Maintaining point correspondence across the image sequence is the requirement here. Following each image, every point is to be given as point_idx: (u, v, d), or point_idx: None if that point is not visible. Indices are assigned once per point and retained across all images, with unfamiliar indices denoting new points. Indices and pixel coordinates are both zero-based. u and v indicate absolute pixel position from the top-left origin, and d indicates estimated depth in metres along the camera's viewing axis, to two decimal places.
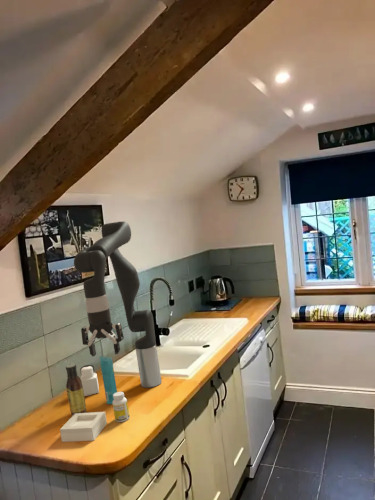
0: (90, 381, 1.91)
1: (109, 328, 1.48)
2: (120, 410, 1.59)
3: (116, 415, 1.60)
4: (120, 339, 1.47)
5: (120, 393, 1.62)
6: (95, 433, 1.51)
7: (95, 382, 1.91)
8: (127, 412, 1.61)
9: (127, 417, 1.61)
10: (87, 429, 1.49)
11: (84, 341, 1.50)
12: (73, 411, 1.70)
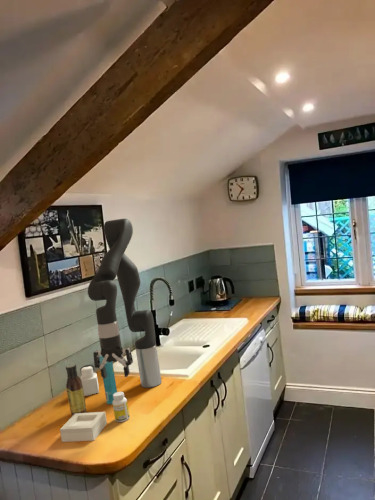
0: (90, 381, 1.91)
1: (119, 352, 1.59)
2: (120, 410, 1.59)
3: (116, 415, 1.60)
4: (129, 363, 1.58)
5: (120, 393, 1.62)
6: (95, 433, 1.51)
7: (95, 382, 1.91)
8: (127, 412, 1.61)
9: (127, 417, 1.61)
10: (87, 429, 1.49)
11: (96, 364, 1.61)
12: (73, 411, 1.70)
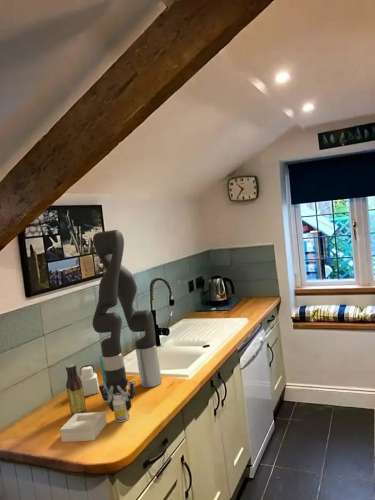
0: (90, 381, 1.91)
1: (124, 384, 1.60)
2: (120, 410, 1.59)
3: (116, 415, 1.60)
4: (132, 397, 1.59)
5: (120, 393, 1.62)
6: (95, 433, 1.51)
7: (95, 382, 1.91)
8: (127, 412, 1.61)
9: (127, 417, 1.61)
10: (87, 429, 1.49)
11: (104, 397, 1.61)
12: (73, 411, 1.70)
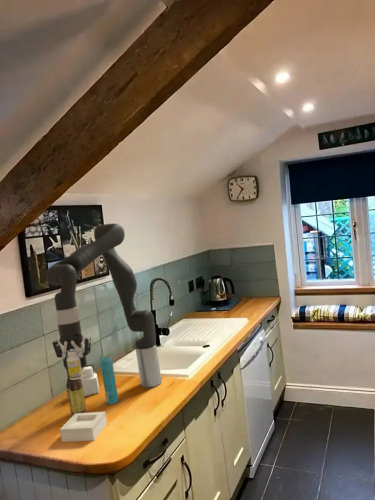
0: (90, 381, 1.91)
1: (79, 340, 1.52)
2: (73, 367, 1.51)
3: (70, 372, 1.52)
4: (86, 353, 1.51)
5: (75, 350, 1.54)
6: (95, 433, 1.51)
7: (95, 382, 1.91)
8: (82, 369, 1.53)
9: (82, 375, 1.53)
10: (87, 429, 1.49)
11: (58, 354, 1.53)
12: (73, 411, 1.70)
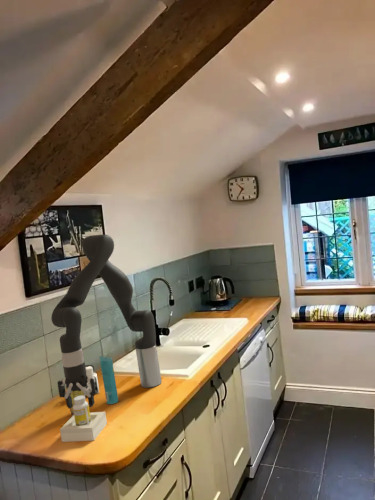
0: None
1: (84, 382, 1.53)
2: (80, 415, 1.53)
3: (76, 420, 1.53)
4: (94, 393, 1.52)
5: (81, 397, 1.55)
6: (95, 433, 1.51)
7: None
8: (88, 417, 1.54)
9: (88, 422, 1.54)
10: (87, 429, 1.49)
11: (61, 394, 1.55)
12: (73, 411, 1.70)
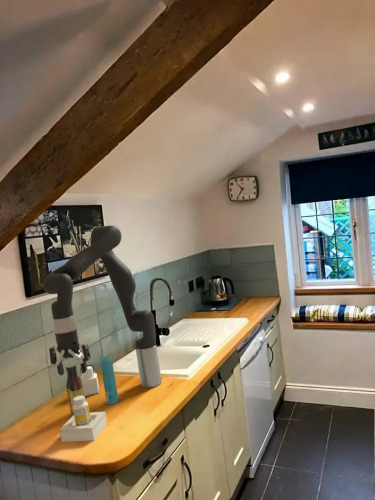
0: (90, 381, 1.91)
1: (76, 348, 1.53)
2: (80, 415, 1.53)
3: (76, 420, 1.53)
4: (86, 359, 1.52)
5: (81, 397, 1.55)
6: (95, 433, 1.51)
7: (95, 382, 1.91)
8: (88, 417, 1.54)
9: (88, 422, 1.54)
10: (87, 429, 1.49)
11: (52, 361, 1.55)
12: None
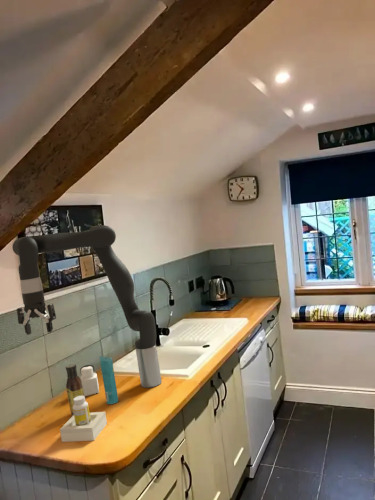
0: (90, 381, 1.91)
1: (42, 308, 1.60)
2: (80, 415, 1.53)
3: (76, 420, 1.53)
4: (52, 318, 1.59)
5: (81, 397, 1.55)
6: (95, 433, 1.51)
7: (95, 382, 1.91)
8: (88, 417, 1.54)
9: (88, 422, 1.54)
10: (87, 429, 1.49)
11: (19, 320, 1.62)
12: None
